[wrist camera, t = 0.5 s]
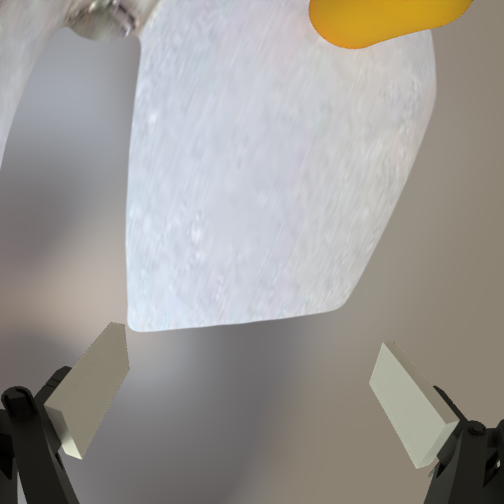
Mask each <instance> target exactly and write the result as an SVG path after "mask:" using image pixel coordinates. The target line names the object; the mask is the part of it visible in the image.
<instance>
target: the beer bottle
mask: <svg viewBox="0 0 504 504" xmlns="http://www.w3.org/2000/svg"><path fill="white" fill-rule="evenodd" d="M472 1H473V0H310V4H309V17H310V20H311V23H312V25H313V27H314V28H315V30H316V31H317V32H318V33H319V34H320V35H321V37H323V38H324V39H325V40H327V41H328V42H330V43H332V44H334V45H336V46H339V47H343V48H347V49H360V48H365V47H368V46H371V45H373V44H376V43H379V42H382V41H385V40H388V39H392V38H395V37H399V36H403V35H406V34H410V33H414V32H418V31H422V30H426V29H431V28H437V27H441V26H443V25H446V24H448V23H450V22H452V21H454V20H456V19H457V18H458V17H460V16H461V15H462V14H463V13H464V12H465V11H466V10H467V9H468V8H469V6H470V4H471V3H472Z"/></svg>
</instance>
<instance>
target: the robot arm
mask: <svg viewBox="0 0 504 504" xmlns="http://www.w3.org/2000/svg"><path fill="white" fill-rule="evenodd" d="M128 371H129V361H128V353H127V344H126V335H125V325H124V324H119V323H113V322H111V323H110V324H109V325H108V326H107V327H106V328H105V330H104V331H103V332H102V333H101V334H100V335H99V337H98V338H97V339H96V340H95V341H94V342H93V344H92V345H91V346H90V347H89V349H88V350H87V351H86V352H85V353H84V354H83V356H82V357H81V358H80V359H79V361H78V362H77V363H76V364H75V365H74V367H73V368H71V367H67V366H64V367H63V368H61V369H59V370H57V371H56V372H55V373H54V374H53V375H52V377H51V378H50V379H49V380H48V381H47V382H46V385H44V386H43V387H42V389H41V390H40V391H39V392H38V393H37V394H36V396H35V397H34V398H33V396H32V394H31V392H30V391H29V390H28V389H27V388H24V387H22V386H15V387H11V388H9V389H7V390H6V391H4V393H3V394H2V397H1V401H2V403H3V405H4V407H5V410H3V409H0V504H18V501H17V500H18V498H17V472H19V476H20V480H21V484H22V488H23V491H24V495H25V498H26V501H27V504H79V501H78V499H77V497H76V495H75V493H74V490H73V488H72V486H71V483H70V481H69V478H68V476H67V474H66V471H65V468H64V466H63V463H62V460H61V457H60V455H59V453H58V450H59V448H60V446H61V445H62V447H63V449H64V451H65V453H66V454H68V455H71V456H74V457H76V458H79V459H83V457H84V455H85V453H86V451H87V449H88V447H89V445H90V443H91V441H92V439H93V437H94V435H95V433H96V431H97V429H98V427H99V425H100V423H101V421H102V419H103V418H104V416H105V414H106V412H107V410H108V408H109V406H110V404H111V402H112V400H113V398H114V397H115V395H116V393H117V391H118V389H119V387H120V385H121V384H122V382H123V380H124V378H125V376H126V375H127V373H128ZM369 384H370V386H371V387H372V389H373V391H374V393H375V395H376V396H377V398H378V400H379V402H380V403H381V405H382V407H383V409H384V411H385V412H386V414H387V415H388V418H389V419H390V421H391V423H392V425H393V427H394V428H395V430H396V432H397V434H398V436H399V437H400V439H401V441H402V443H403V445H404V446H405V449H406V450H407V452H408V454H409V456H410V458H411V460H412V461H413V464H414V465H415V467H416V469H417V468H420V467H424V466H427V465H430V464H431V463H432V461H433V460H434V458H435V457H436V456H437V457H438V459H439V460H440V461H439V462H438V463H437V465H436V466H435V467H434V469H433V470H432V471H431V472H430V474H429V477H430V476H431V475H432V474H433V473H434V474H433V478H432V481H431V484H430V487H429V490H428V493H427V496H426V499H425V501H424V504H504V419H503V420H501V421H500V423H499V424H498V426H497V427H496V428H487V429H486V427H485V426H484V425H483V424H482V423H480V422H478V421H473V420H471V421H468V420H467V419H466V418H465V417H464V415H463V414H462V413H461V412H460V410H459V409H458V408H457V407H456V405H455V404H453V402H452V401H451V399H449V397H448V396H447V395H446V393H445V392H444V391H443V390H441V389H440V388H438V387H437V386H432V385H431V384H430V382H429V381H428V380H427V379H426V378H425V377H424V375H423V374H422V373H421V372H420V371H419V369H418V368H417V367H416V366H415V365H414V363H413V362H412V361H411V360H410V359H409V357H408V356H407V355H406V354H405V353H404V352H403V350H402V349H401V348H400V347H399V346H398V345H397V344H396V342H395V341H394V342H383V343H382V346H381V349H380V352H379V355H378V358H377V362H376V364H375V367H374V371H373V373H372V376H371V379H370V382H369ZM499 460H500V466H499V467H497V463H498V461H499Z"/></svg>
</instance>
